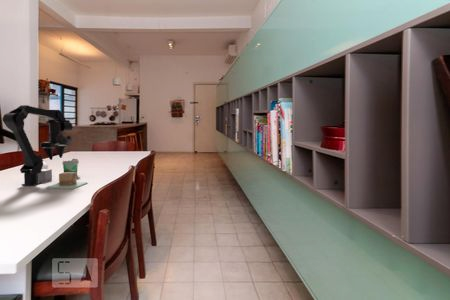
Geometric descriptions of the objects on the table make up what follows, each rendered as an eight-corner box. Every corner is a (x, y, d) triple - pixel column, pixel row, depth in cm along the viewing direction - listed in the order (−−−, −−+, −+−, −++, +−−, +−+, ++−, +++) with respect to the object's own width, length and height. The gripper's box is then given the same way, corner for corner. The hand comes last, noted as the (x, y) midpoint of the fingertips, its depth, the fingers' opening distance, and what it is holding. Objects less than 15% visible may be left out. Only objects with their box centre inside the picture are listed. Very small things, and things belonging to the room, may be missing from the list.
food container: (73, 178, 187) (72, 161, 186) (62, 177, 187) (62, 161, 186) (82, 174, 199) (82, 158, 198) (73, 174, 199) (72, 158, 199)
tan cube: (70, 185, 163) (70, 174, 162) (59, 185, 163) (58, 174, 162) (76, 183, 169) (76, 172, 168) (65, 183, 169) (65, 172, 168)
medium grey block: (45, 181, 176) (45, 171, 175) (35, 181, 176) (34, 170, 175) (52, 179, 182) (51, 169, 181) (42, 179, 182) (41, 169, 181)
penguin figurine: (47, 160, 196) (51, 164, 187) (47, 174, 197) (51, 178, 188) (35, 161, 192) (39, 165, 182) (36, 175, 193) (39, 179, 184)
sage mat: (73, 188, 159) (73, 187, 158) (47, 188, 159) (47, 186, 159) (87, 183, 172) (87, 182, 172) (62, 182, 173) (62, 181, 173)
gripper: (59, 132, 170) (60, 161, 171) (77, 131, 188) (78, 157, 190) (39, 132, 171) (40, 160, 172) (59, 131, 189) (60, 156, 191)
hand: (56, 158), depth 181 cm, fingers open, 9 cm apart
